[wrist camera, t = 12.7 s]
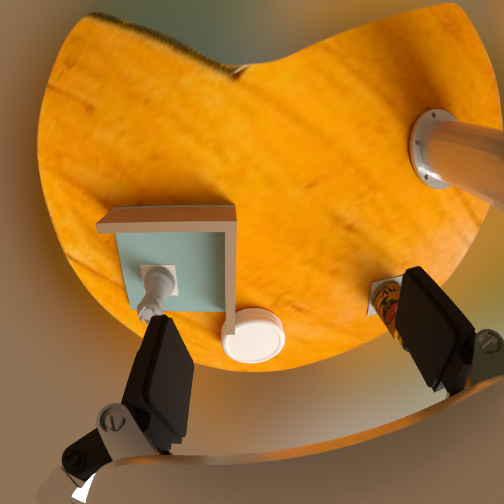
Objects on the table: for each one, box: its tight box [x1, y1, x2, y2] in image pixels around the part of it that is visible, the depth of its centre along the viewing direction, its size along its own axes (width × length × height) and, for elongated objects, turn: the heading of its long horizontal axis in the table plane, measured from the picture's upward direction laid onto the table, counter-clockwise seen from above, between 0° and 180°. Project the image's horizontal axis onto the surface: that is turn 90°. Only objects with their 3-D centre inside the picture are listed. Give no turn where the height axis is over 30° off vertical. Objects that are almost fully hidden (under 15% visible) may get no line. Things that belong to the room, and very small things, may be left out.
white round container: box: [221, 308, 285, 363], centre depth 42 cm, size 10×10×4 cm
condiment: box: [367, 276, 409, 352], centre depth 38 cm, size 7×8×12 cm
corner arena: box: [96, 205, 237, 335], centre depth 34 cm, size 16×16×6 cm
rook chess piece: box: [137, 268, 175, 324], centre depth 33 cm, size 4×4×8 cm
